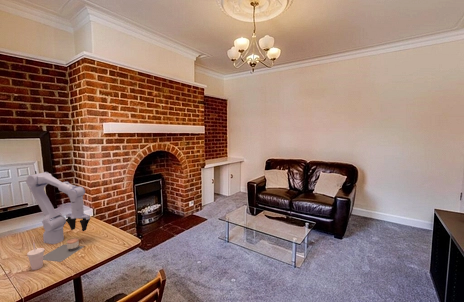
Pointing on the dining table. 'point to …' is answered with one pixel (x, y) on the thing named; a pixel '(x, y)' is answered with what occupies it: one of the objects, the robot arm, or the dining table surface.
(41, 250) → the smoothie
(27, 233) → the dining table surface
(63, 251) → the knob mounting plate
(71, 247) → the cap
